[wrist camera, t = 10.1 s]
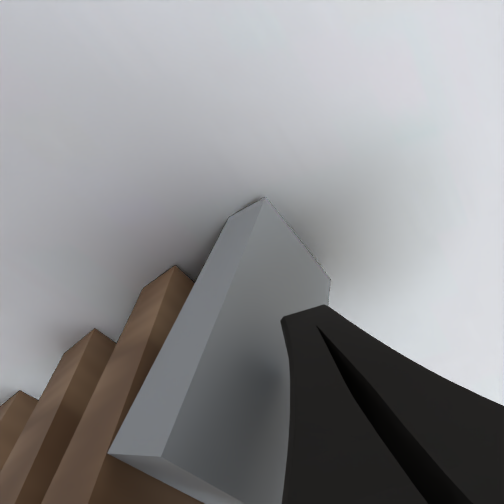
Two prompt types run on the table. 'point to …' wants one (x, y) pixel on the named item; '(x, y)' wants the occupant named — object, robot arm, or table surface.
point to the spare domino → (227, 369)
